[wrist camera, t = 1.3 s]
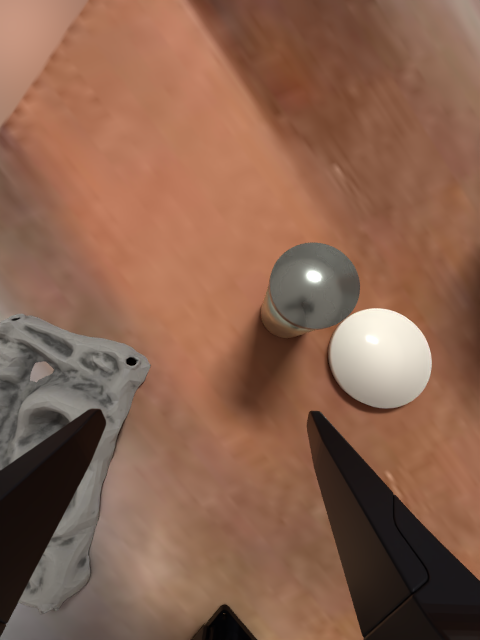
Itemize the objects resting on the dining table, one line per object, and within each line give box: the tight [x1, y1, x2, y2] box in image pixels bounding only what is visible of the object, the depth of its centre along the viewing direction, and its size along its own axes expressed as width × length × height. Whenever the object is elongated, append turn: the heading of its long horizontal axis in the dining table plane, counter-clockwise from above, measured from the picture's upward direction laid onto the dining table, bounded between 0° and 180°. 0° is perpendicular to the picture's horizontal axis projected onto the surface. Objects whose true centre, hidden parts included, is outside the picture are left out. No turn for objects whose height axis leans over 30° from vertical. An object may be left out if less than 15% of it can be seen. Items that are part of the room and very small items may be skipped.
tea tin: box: [261, 243, 360, 338], centre depth 19 cm, size 6×6×10 cm
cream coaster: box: [328, 308, 432, 408], centre depth 22 cm, size 10×10×1 cm
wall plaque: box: [0, 314, 151, 614], centre depth 21 cm, size 24×19×4 cm
